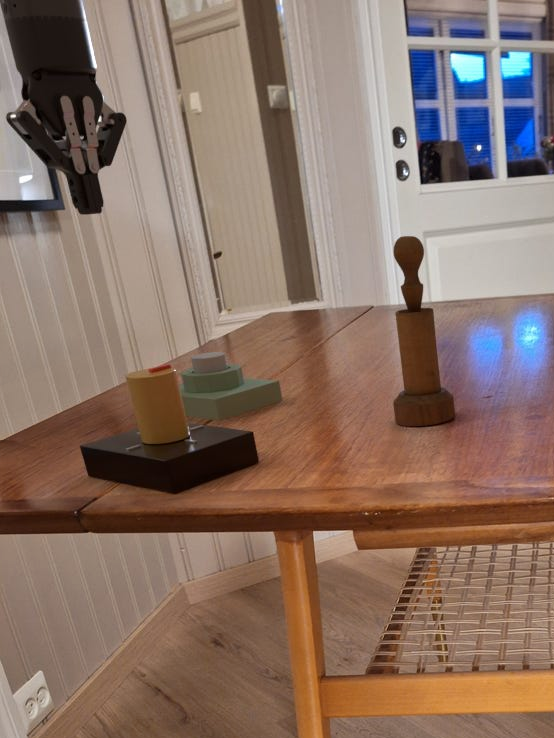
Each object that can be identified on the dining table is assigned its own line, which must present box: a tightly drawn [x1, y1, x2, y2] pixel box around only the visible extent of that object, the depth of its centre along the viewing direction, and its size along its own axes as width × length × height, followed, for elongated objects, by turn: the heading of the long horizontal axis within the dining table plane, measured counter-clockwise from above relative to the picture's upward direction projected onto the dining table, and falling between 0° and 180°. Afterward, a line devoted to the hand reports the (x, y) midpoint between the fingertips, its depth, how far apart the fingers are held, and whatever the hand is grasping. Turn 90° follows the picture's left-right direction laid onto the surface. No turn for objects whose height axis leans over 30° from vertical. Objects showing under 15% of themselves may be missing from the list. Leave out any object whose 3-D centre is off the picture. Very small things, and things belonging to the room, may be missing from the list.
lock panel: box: [79, 422, 260, 494], centre depth 82 cm, size 13×10×3 cm
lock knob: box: [124, 363, 190, 444], centre depth 80 cm, size 4×4×6 cm
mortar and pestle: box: [392, 235, 456, 427], centre depth 89 cm, size 7×6×18 cm
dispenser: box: [179, 363, 283, 422], centre depth 105 cm, size 12×10×4 cm
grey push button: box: [190, 351, 228, 374], centre depth 104 cm, size 4×4×2 cm
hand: (91, 213), depth 93 cm, fingers closed
